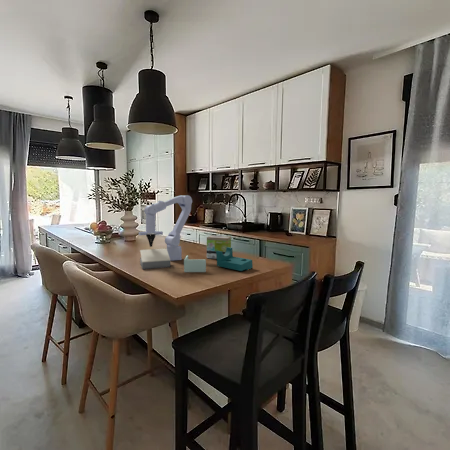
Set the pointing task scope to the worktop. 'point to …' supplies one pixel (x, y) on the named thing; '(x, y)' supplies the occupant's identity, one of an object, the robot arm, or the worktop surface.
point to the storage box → (154, 264)
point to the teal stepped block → (232, 261)
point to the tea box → (217, 245)
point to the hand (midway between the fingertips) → (150, 246)
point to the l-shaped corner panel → (194, 265)
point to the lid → (154, 255)
